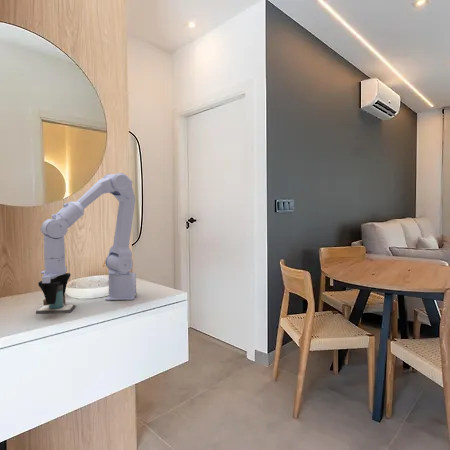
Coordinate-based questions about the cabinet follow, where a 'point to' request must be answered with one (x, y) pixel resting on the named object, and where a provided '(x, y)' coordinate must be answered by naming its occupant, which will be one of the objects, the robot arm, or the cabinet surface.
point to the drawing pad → (46, 309)
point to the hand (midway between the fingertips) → (56, 299)
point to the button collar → (48, 304)
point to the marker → (58, 298)
